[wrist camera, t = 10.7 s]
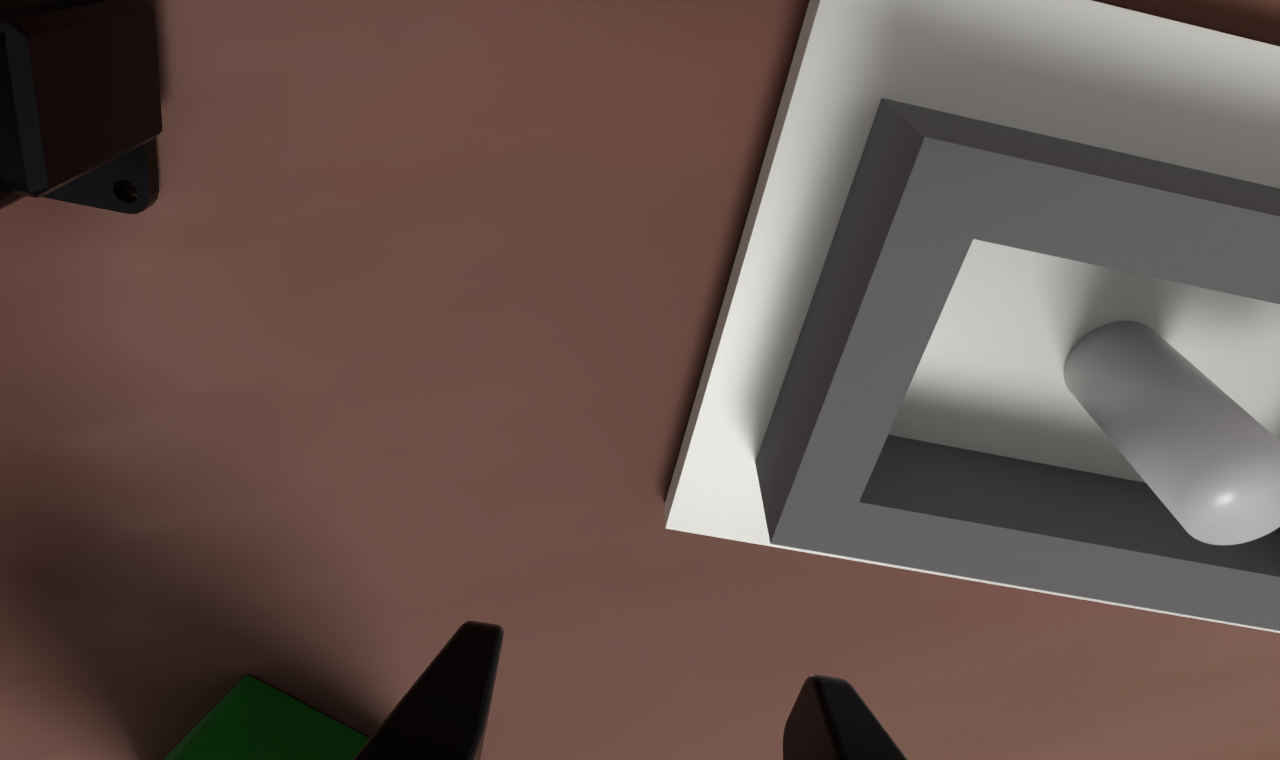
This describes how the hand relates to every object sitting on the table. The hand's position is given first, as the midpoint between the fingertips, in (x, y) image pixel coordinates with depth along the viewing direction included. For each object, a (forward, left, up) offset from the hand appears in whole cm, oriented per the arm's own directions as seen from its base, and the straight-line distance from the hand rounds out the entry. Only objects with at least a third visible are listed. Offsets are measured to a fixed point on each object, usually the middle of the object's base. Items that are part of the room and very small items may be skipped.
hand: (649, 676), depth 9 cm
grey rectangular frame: (+11, 0, -11) cm, 15 cm away
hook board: (+11, 0, -12) cm, 16 cm away
